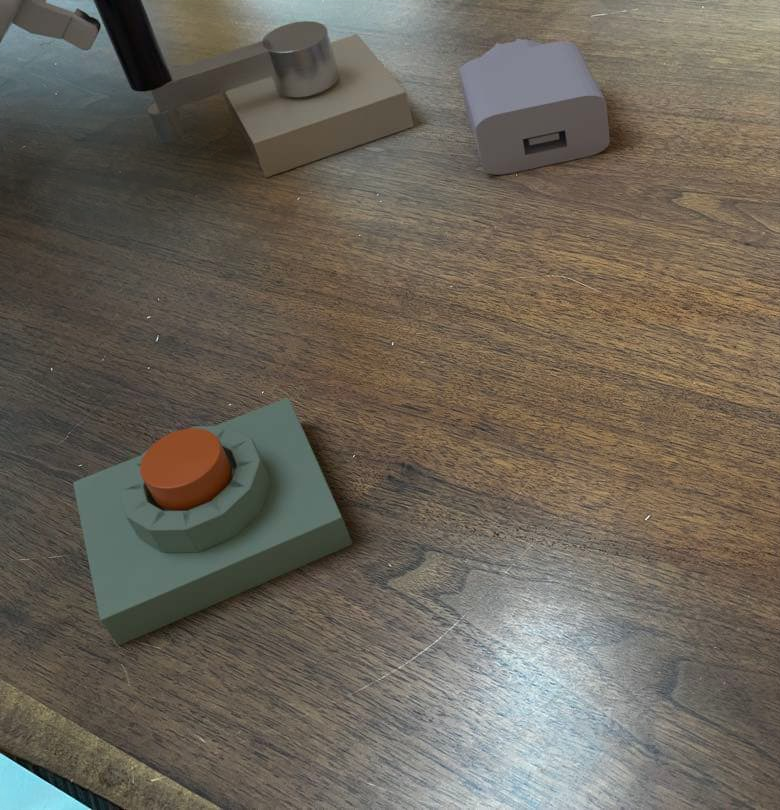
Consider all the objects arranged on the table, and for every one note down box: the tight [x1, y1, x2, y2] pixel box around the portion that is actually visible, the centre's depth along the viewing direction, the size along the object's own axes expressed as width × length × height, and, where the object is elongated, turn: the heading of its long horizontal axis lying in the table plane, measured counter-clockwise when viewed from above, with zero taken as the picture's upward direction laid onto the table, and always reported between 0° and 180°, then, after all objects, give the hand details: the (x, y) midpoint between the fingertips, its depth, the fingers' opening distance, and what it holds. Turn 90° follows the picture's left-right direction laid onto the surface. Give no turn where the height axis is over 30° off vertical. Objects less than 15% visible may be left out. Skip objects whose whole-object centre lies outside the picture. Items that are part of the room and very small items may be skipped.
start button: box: [140, 427, 232, 511], centre depth 54 cm, size 4×4×2 cm
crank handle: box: [92, 0, 339, 144], centre depth 79 cm, size 15×5×12 cm, turn 115°
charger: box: [458, 37, 611, 176], centre depth 81 cm, size 5×9×15 cm
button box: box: [72, 396, 353, 647], centre depth 55 cm, size 12×10×4 cm
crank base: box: [222, 33, 414, 179], centre depth 85 cm, size 12×12×3 cm
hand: (109, 8), depth 76 cm, fingers open, 8 cm apart
